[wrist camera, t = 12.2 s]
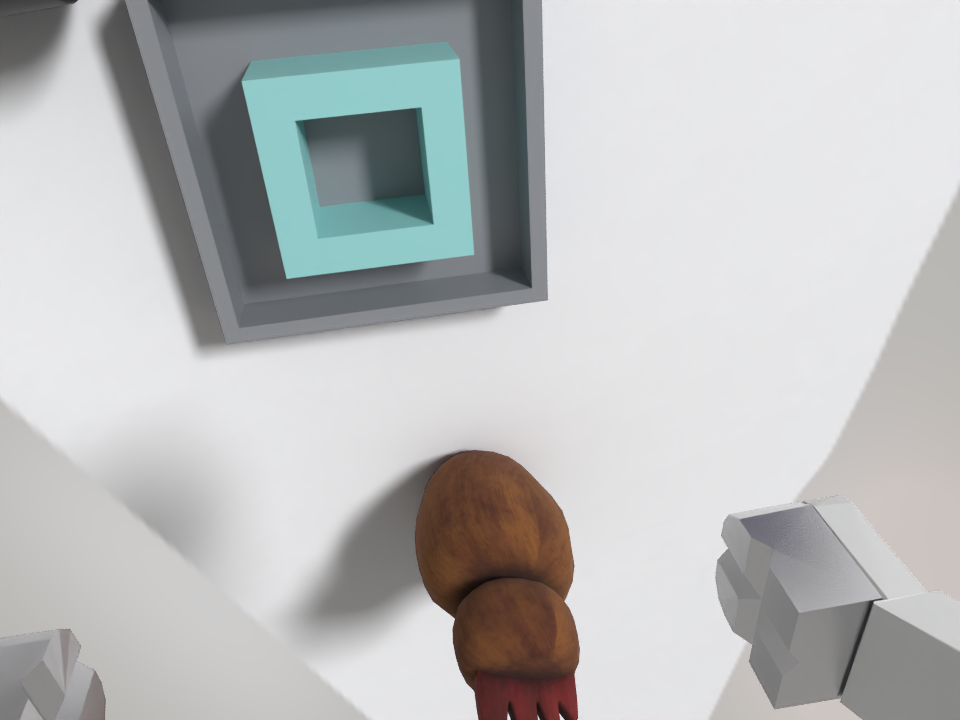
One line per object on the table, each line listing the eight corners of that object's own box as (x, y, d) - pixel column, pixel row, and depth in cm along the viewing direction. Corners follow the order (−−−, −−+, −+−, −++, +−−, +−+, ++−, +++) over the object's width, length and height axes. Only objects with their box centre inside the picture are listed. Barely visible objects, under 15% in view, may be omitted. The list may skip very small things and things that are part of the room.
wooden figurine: (387, 496, 36) (414, 818, 24) (454, 411, 34) (522, 714, 22) (497, 541, 39) (573, 849, 27) (566, 465, 37) (682, 761, 25)
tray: (137, -31, 23) (118, -23, 21) (523, -65, 24) (540, -60, 22) (233, 312, 30) (226, 344, 28) (533, 272, 31) (547, 300, 29)
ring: (251, 61, 25) (241, 80, 22) (447, 41, 25) (459, 59, 23) (290, 243, 28) (286, 278, 26) (462, 222, 29) (474, 254, 26)
